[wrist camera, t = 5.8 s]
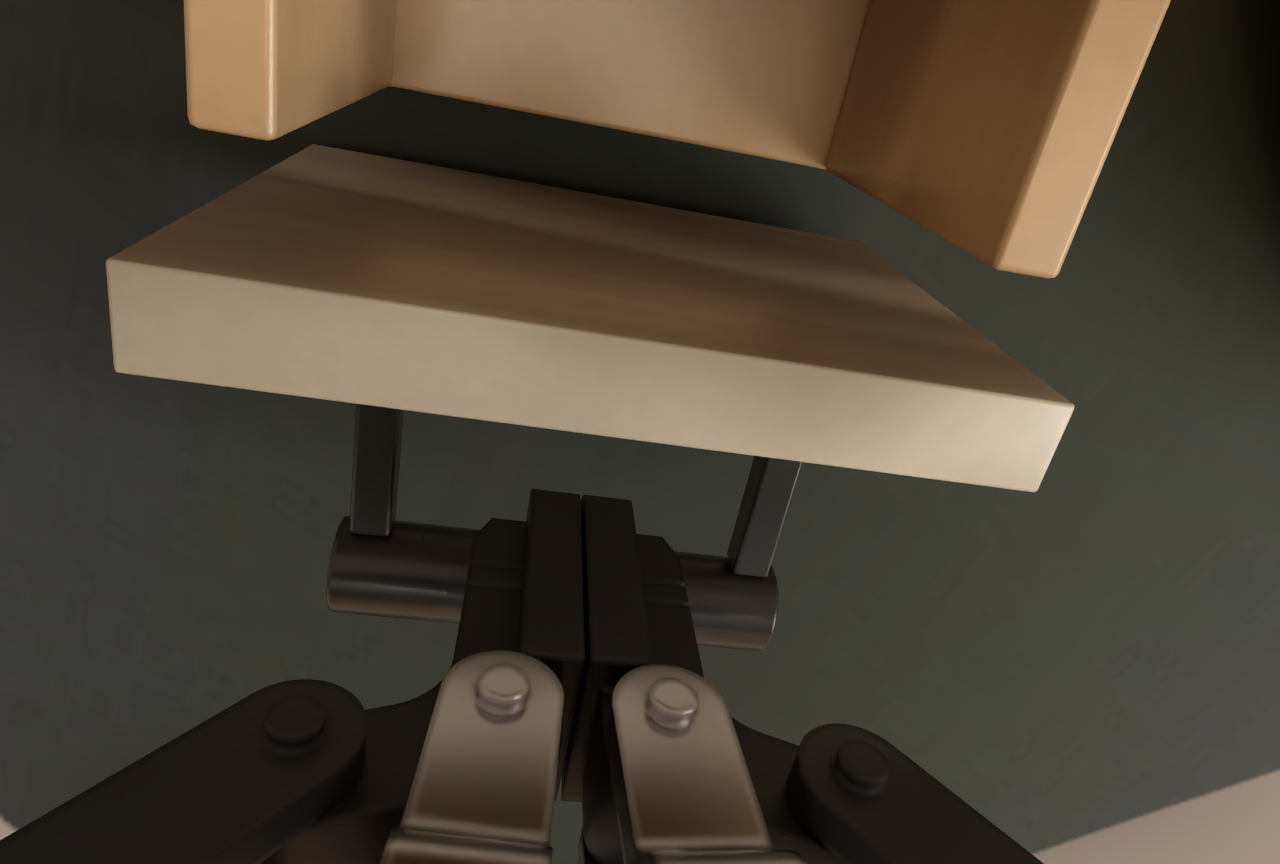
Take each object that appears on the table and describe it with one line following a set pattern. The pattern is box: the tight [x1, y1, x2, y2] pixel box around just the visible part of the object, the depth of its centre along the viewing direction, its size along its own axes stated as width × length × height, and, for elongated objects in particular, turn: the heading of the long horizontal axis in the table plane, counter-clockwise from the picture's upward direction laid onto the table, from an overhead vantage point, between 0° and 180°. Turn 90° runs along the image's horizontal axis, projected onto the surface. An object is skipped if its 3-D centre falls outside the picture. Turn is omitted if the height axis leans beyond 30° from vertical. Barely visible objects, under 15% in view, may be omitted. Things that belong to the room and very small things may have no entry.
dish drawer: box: [106, 0, 1171, 651], centre depth 11 cm, size 17×10×8 cm, turn 169°
